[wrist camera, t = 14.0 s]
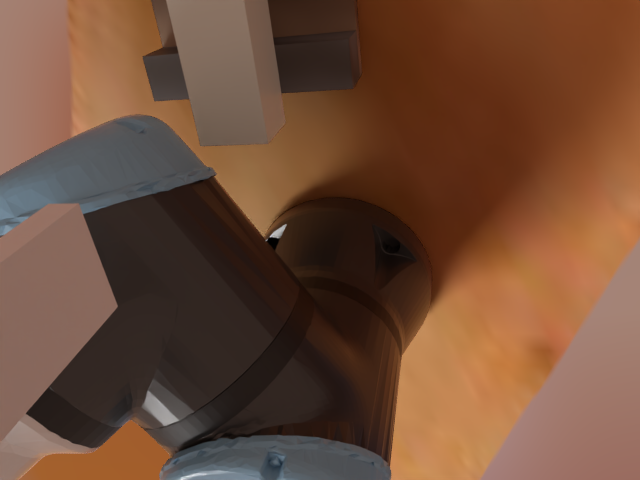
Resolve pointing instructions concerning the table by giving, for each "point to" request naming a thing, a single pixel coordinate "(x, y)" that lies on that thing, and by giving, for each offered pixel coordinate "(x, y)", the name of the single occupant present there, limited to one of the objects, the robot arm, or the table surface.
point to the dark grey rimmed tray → (279, 48)
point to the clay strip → (229, 69)
